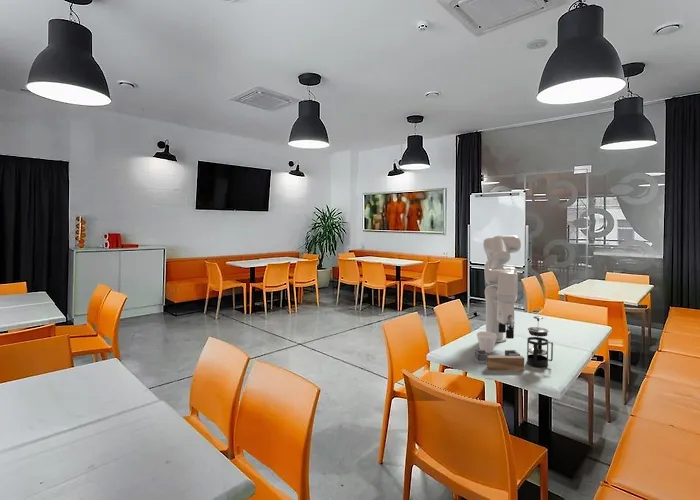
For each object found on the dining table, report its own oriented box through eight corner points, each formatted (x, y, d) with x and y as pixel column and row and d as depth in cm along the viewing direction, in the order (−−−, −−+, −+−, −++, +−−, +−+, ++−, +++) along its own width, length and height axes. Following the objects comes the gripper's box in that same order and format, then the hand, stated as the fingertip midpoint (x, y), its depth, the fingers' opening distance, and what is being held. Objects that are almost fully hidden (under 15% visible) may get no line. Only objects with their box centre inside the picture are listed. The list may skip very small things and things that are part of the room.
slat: (486, 368, 181) (486, 355, 181) (521, 368, 180) (521, 355, 180) (488, 370, 178) (488, 358, 178) (524, 370, 177) (524, 358, 177)
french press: (522, 364, 184) (523, 317, 183) (527, 359, 192) (528, 313, 190) (549, 370, 177) (551, 320, 175) (554, 364, 184) (555, 316, 183)
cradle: (473, 357, 195) (473, 349, 195) (515, 357, 194) (515, 349, 194) (477, 363, 187) (477, 355, 187) (521, 363, 186) (521, 354, 186)
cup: (496, 349, 207) (496, 332, 206) (497, 355, 197) (497, 337, 197) (476, 347, 210) (476, 330, 209) (476, 353, 201) (476, 336, 200)
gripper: (491, 295, 186) (491, 330, 187) (504, 302, 168) (504, 340, 169) (507, 295, 185) (507, 330, 186) (522, 302, 168) (521, 340, 169)
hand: (505, 335), depth 178 cm, fingers open, 9 cm apart
